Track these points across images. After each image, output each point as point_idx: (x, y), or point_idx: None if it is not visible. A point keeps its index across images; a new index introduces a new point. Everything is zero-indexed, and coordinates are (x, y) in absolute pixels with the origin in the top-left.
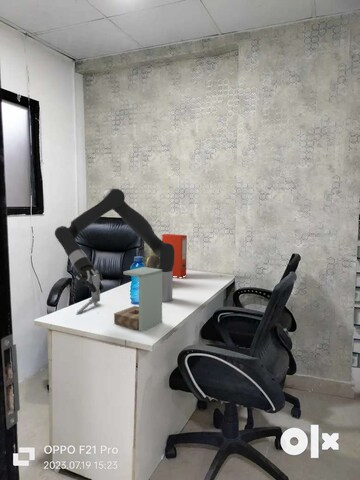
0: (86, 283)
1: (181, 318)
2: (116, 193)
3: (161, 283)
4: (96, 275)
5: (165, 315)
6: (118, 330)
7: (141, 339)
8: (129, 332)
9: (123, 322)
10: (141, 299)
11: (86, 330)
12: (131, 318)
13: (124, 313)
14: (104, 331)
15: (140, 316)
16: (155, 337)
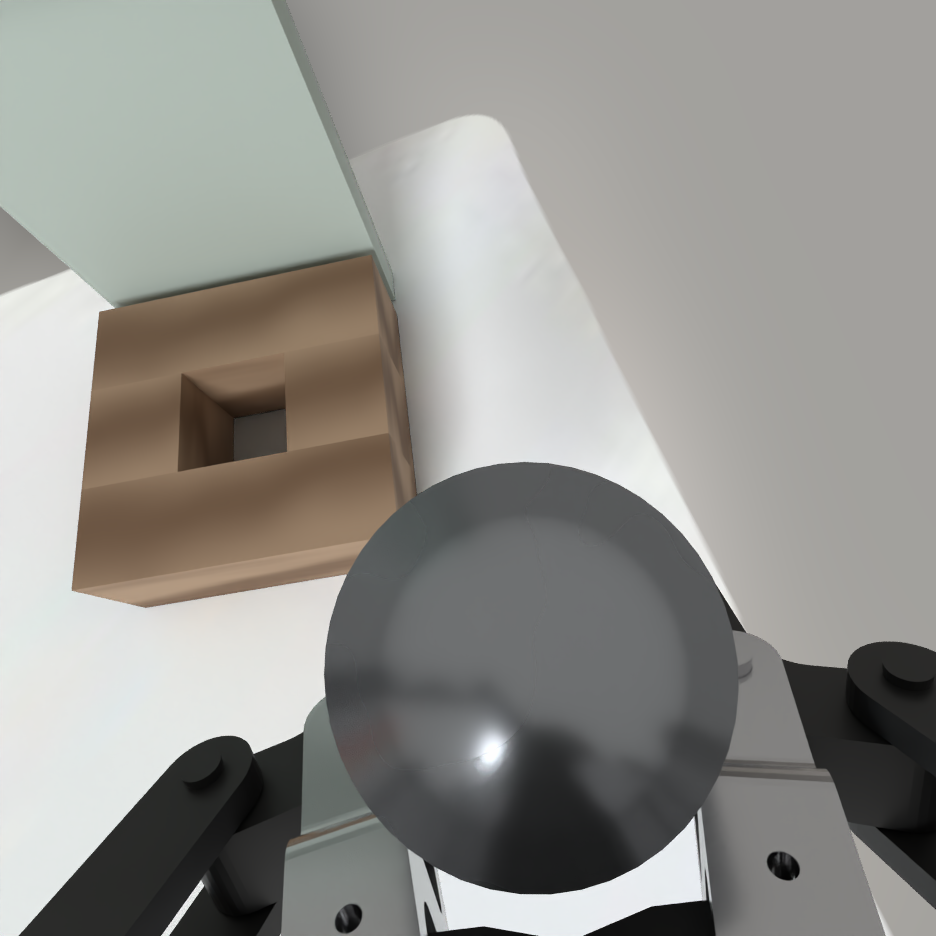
0: (918, 660)
1: (10, 298)
2: None
3: None
4: (544, 515)
5: (5, 423)
6: (500, 404)
7: (490, 180)
8: (465, 318)
9: (403, 434)
10: (291, 25)
11: (725, 599)
12: (378, 315)
13: (331, 453)
14: (603, 462)
15: (358, 197)
16: (403, 157)
